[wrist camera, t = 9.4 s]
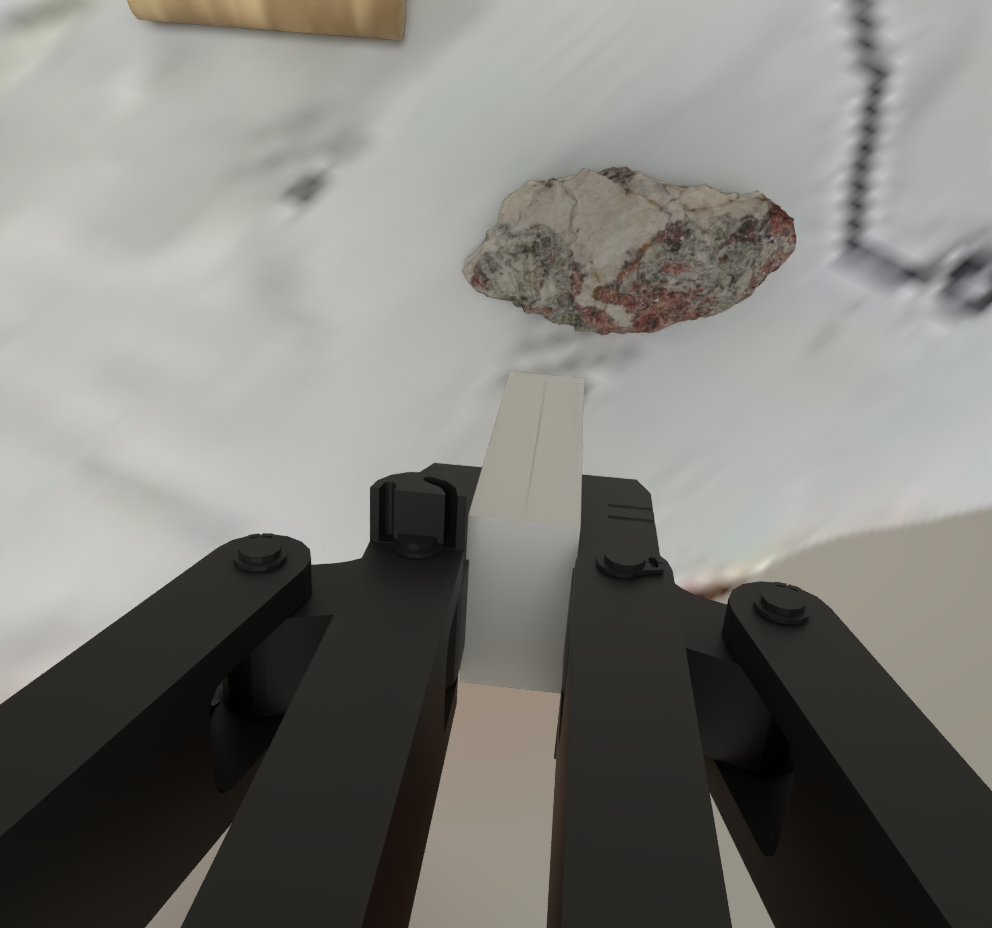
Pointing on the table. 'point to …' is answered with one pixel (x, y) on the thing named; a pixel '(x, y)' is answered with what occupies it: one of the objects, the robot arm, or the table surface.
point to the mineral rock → (628, 250)
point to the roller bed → (284, 15)
